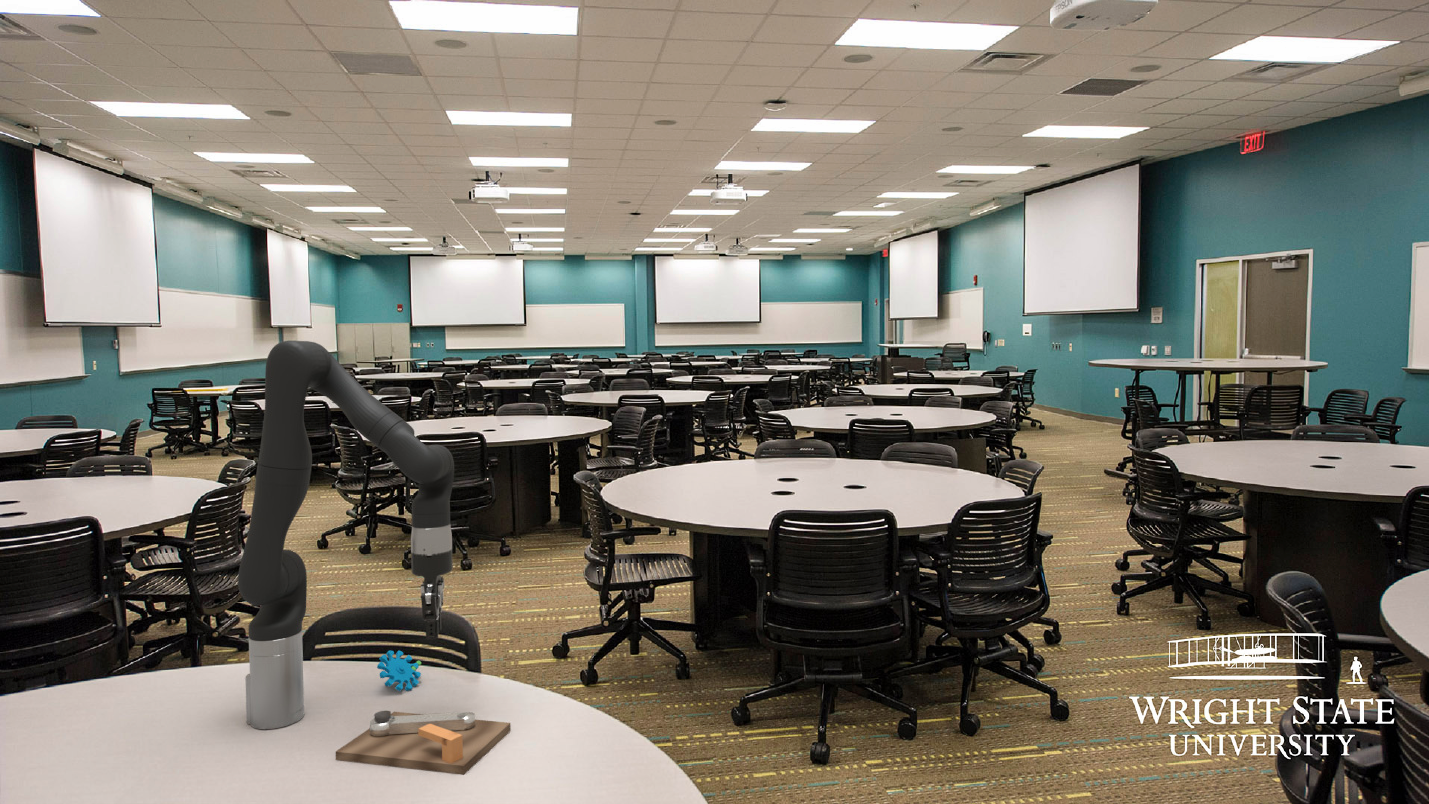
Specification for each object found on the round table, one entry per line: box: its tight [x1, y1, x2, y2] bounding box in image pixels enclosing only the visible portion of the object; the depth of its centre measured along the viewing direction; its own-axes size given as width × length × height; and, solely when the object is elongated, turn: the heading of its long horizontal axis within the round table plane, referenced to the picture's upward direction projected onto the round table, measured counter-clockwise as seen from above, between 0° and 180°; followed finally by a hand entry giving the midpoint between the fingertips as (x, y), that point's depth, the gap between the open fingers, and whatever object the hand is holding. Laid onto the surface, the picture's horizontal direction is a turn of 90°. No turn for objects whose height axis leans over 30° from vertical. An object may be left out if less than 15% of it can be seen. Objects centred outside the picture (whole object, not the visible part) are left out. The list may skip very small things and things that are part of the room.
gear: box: [376, 650, 422, 692], centre depth 174 cm, size 11×6×10 cm
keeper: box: [418, 724, 463, 764], centre depth 139 cm, size 9×2×4 cm, turn 57°
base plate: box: [335, 710, 512, 775], centre depth 146 cm, size 25×17×5 cm
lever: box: [369, 711, 476, 736], centre depth 149 cm, size 19×4×2 cm, turn 97°
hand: (433, 635), depth 155 cm, fingers open, 3 cm apart
